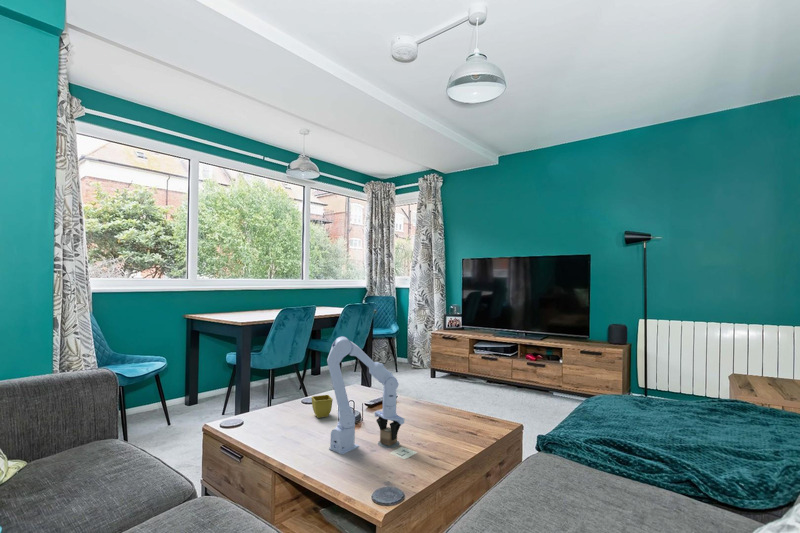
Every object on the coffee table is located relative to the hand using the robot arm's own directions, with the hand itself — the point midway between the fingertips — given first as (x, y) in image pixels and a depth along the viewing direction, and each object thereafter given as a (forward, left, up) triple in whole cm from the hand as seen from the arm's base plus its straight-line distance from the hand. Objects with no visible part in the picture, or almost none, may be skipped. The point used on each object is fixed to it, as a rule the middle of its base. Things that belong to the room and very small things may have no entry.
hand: (388, 437), depth 165 cm
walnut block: (0, 0, -2) cm, 2 cm away
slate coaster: (0, 0, -3) cm, 3 cm away
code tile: (-3, -10, -3) cm, 11 cm away
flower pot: (+4, +47, -3) cm, 47 cm away
